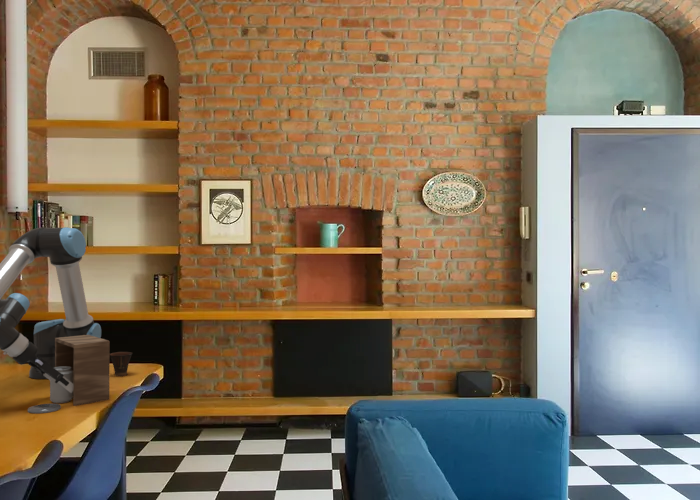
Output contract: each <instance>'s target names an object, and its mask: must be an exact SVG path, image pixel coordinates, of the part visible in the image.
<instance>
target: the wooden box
mask: <svg viewBox="0 0 700 500" xmlns="http://www.w3.org/2000/svg"><path fill="white" fill-rule="evenodd" d="M110 352H111V351H110V340H108V339H105V338H98V337H94V336H91V335H81V336H71V337H61V338H55V367H61V366H69V367H71V369H72V370H73V399H72V400H73V401H72V402H73V403H72V404H73V406H74V407H77V406H83V405H87V404H88V405H89V404H92V403H98V402H103V401H110V367H111V365H110V363H111V362H110V360H111V357H110V354H111V353H110Z"/></svg>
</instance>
